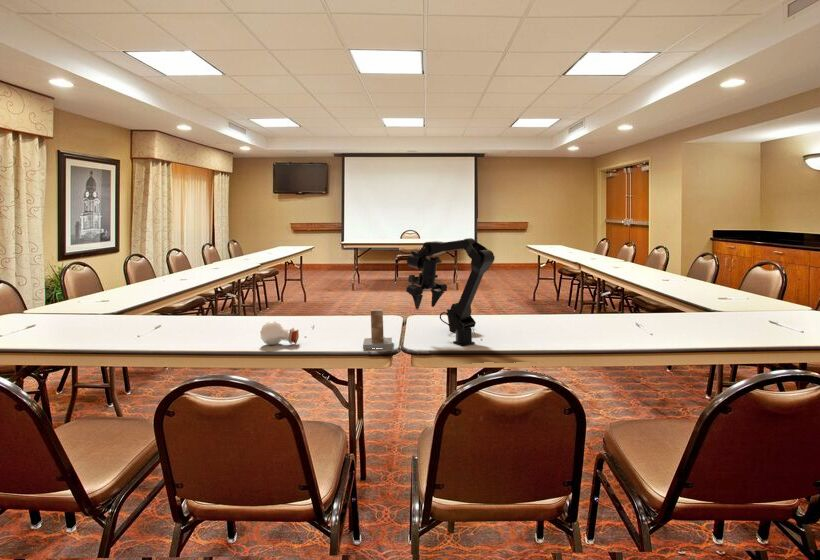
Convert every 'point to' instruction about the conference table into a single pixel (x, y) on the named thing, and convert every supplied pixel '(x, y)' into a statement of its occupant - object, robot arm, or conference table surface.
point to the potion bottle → (277, 334)
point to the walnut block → (377, 325)
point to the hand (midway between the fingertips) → (424, 308)
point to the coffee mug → (448, 320)
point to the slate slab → (377, 343)
